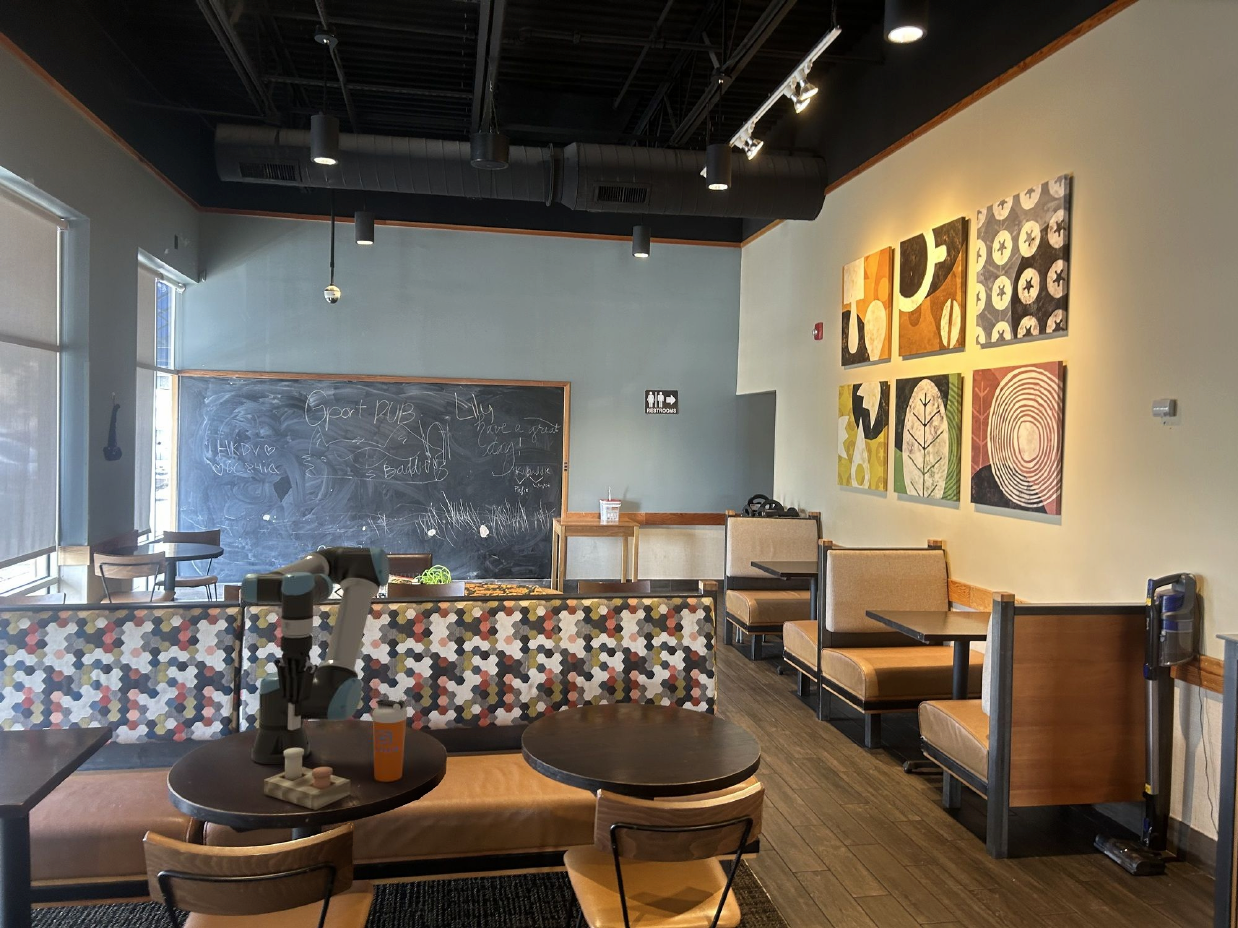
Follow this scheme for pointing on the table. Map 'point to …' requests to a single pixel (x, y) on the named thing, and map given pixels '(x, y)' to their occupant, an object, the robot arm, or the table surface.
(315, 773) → the plug rust
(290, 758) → the plug cream
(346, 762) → the table surface
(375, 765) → the shaker bottle
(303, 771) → the socket board
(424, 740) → the table surface
